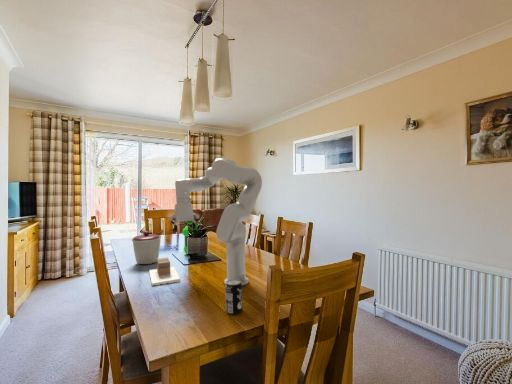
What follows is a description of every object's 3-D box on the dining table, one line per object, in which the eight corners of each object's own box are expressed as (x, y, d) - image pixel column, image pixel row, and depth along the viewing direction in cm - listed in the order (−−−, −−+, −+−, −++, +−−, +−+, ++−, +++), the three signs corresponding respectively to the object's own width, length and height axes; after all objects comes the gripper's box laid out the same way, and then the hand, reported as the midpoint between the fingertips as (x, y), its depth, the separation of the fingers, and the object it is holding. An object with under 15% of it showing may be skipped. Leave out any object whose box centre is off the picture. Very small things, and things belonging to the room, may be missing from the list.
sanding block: (170, 274, 151) (170, 261, 151) (159, 276, 149) (158, 263, 149) (168, 269, 160) (167, 257, 160) (157, 271, 158) (156, 259, 158)
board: (180, 281, 144) (180, 278, 144) (151, 286, 138) (151, 283, 138) (174, 269, 166) (173, 266, 166) (149, 272, 160) (149, 270, 160)
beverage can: (242, 307, 112) (241, 278, 112) (242, 315, 105) (241, 284, 105) (226, 308, 112) (225, 279, 111) (225, 315, 105) (224, 285, 105)
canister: (150, 257, 193) (148, 228, 193) (167, 260, 184) (166, 229, 183) (126, 264, 178) (125, 232, 177) (144, 268, 169) (143, 234, 168)
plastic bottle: (180, 254, 200) (179, 220, 200) (193, 251, 208) (192, 219, 207) (187, 256, 193) (186, 221, 193) (200, 253, 201) (199, 220, 200)
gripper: (196, 199, 163) (198, 228, 163) (166, 202, 155) (168, 232, 156) (199, 200, 156) (201, 229, 156) (168, 202, 149) (170, 233, 149)
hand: (185, 231), depth 156 cm, fingers open, 9 cm apart
